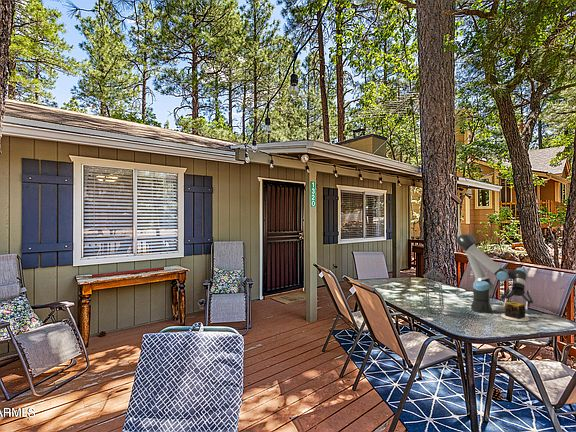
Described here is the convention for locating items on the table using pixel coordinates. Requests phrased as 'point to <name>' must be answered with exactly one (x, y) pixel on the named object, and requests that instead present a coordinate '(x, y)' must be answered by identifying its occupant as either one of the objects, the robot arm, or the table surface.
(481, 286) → the robot arm
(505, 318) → the saucer
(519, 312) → the mossy brown cube
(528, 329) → the table surface
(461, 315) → the table surface
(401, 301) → the table surface
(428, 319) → the table surface
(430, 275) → the geometric lantern
